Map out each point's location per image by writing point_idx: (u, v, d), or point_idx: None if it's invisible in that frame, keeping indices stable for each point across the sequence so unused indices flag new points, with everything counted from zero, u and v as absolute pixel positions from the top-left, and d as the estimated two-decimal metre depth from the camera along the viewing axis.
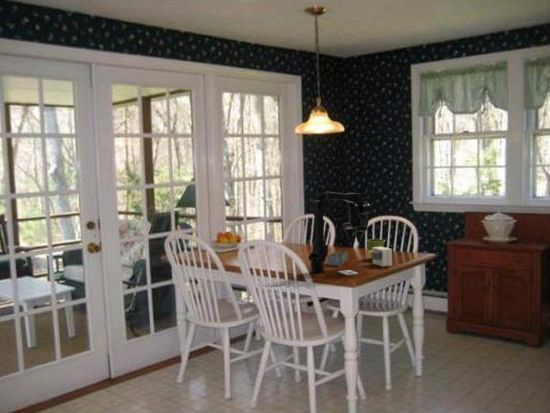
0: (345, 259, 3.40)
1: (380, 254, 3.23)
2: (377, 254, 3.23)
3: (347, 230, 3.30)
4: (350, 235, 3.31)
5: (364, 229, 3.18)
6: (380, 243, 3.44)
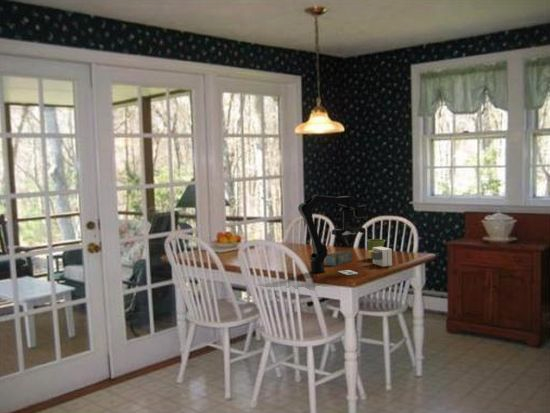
0: (346, 259, 3.39)
1: (380, 254, 3.23)
2: (377, 254, 3.23)
3: None
4: (349, 240, 3.18)
5: (334, 233, 3.13)
6: (380, 243, 3.44)
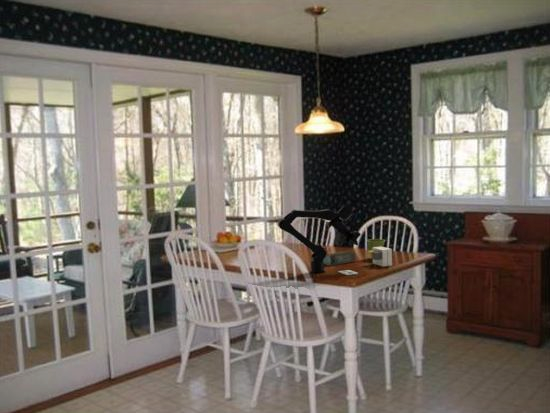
0: (346, 260, 3.37)
1: (380, 254, 3.23)
2: (377, 254, 3.23)
3: None
4: None
5: None
6: (380, 243, 3.44)
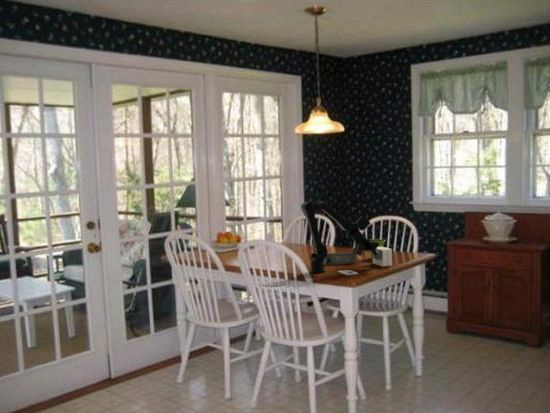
0: (344, 261, 3.35)
1: None
2: (379, 254, 3.23)
3: None
4: None
5: None
6: (380, 243, 3.44)
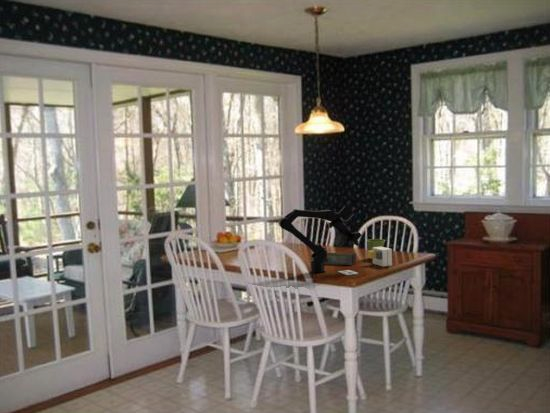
0: (341, 261, 3.33)
1: None
2: (381, 254, 3.24)
3: None
4: None
5: None
6: (380, 243, 3.44)
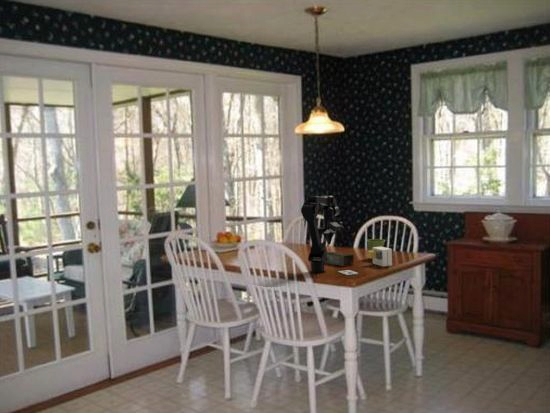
0: (336, 262, 3.33)
1: None
2: (381, 254, 3.24)
3: None
4: None
5: None
6: (380, 243, 3.44)
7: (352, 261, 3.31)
